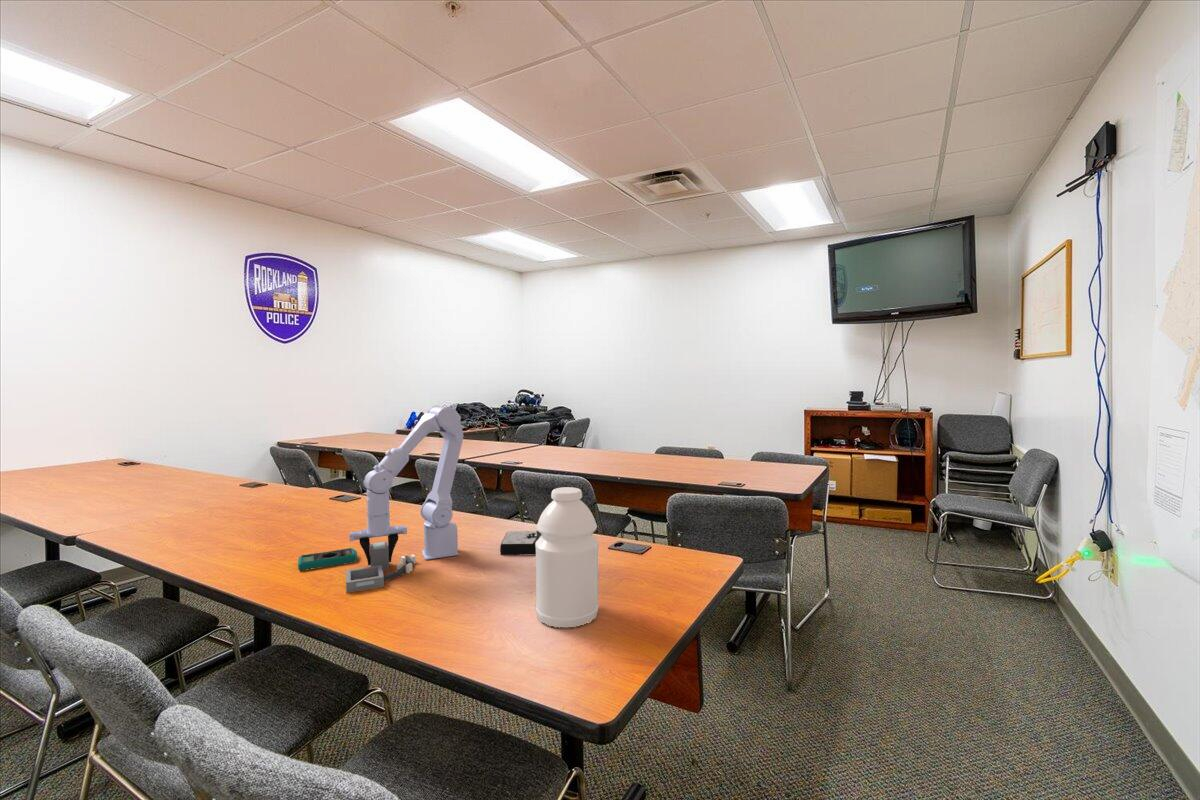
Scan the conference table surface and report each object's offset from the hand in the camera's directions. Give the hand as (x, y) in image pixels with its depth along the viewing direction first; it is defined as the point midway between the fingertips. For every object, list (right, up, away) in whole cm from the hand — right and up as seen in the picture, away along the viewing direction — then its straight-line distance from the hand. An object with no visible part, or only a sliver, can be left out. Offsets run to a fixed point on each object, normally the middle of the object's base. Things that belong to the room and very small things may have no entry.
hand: (379, 562), depth 143 cm
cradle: (+1, -2, -11) cm, 11 cm away
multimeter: (+41, -1, +17) cm, 44 cm away
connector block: (0, -1, 0) cm, 1 cm away
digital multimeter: (-17, -2, +4) cm, 17 cm away
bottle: (+54, -3, -28) cm, 61 cm away
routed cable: (+6, -1, -2) cm, 6 cm away
